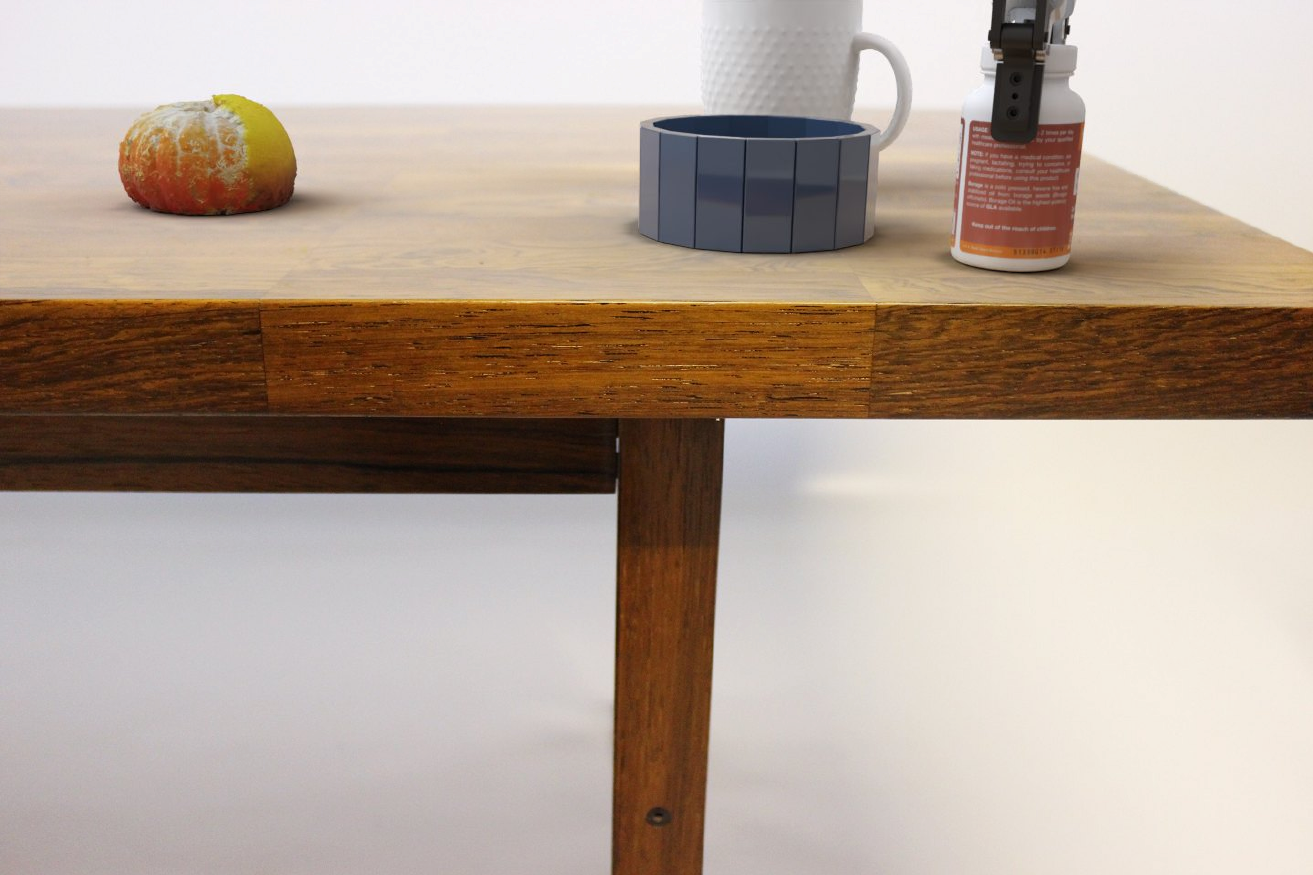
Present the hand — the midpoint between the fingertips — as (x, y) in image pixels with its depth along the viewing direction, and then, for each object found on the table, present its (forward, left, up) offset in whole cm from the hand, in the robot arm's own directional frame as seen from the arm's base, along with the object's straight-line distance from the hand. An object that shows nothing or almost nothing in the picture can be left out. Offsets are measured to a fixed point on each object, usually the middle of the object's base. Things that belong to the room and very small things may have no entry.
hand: (1021, 133), depth 69 cm
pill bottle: (0, 0, -7) cm, 7 cm away
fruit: (+49, +3, -7) cm, 50 cm away
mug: (+18, -21, -7) cm, 29 cm away
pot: (+15, -3, -7) cm, 17 cm away
